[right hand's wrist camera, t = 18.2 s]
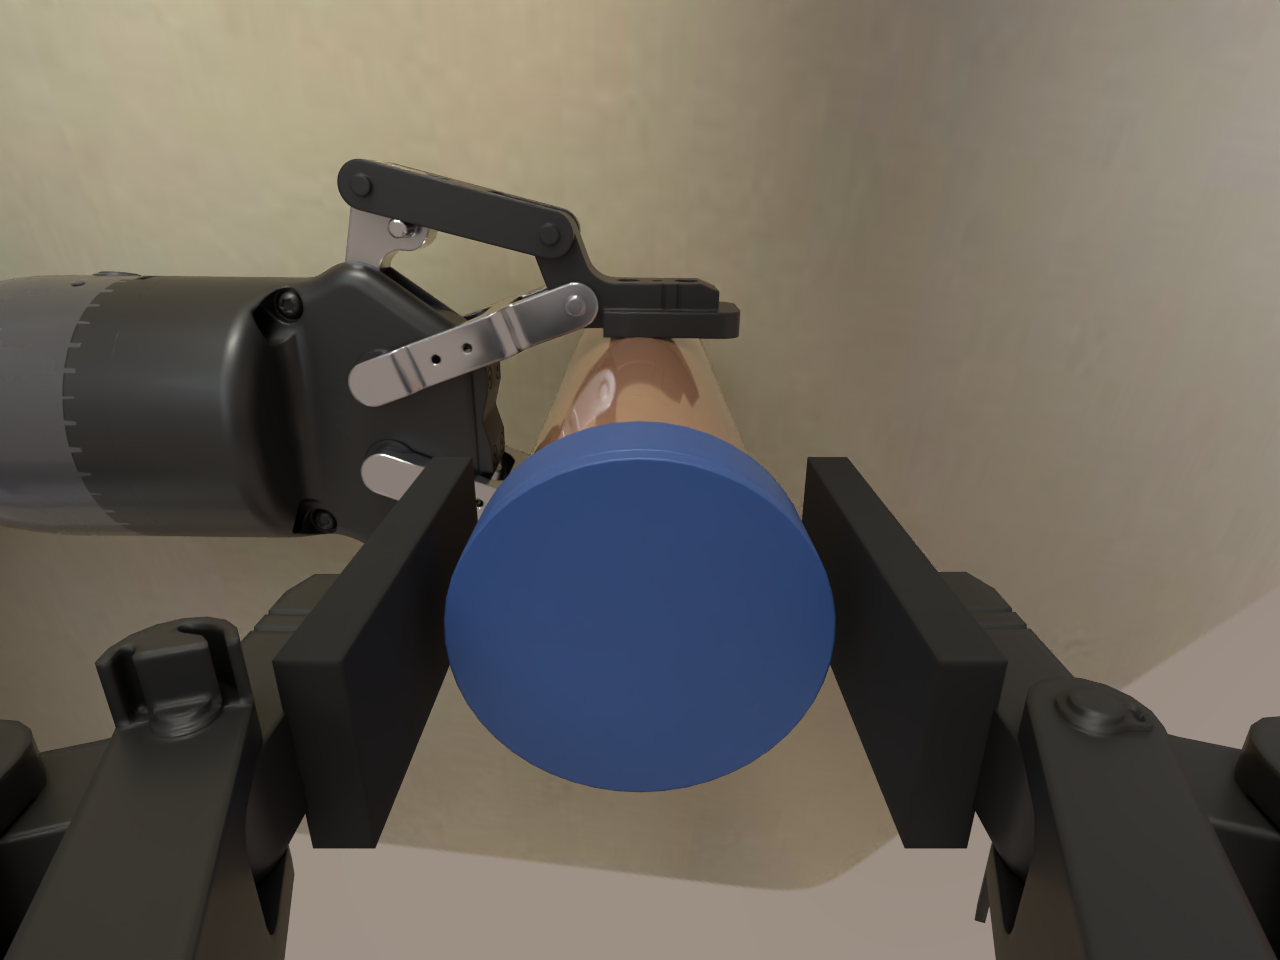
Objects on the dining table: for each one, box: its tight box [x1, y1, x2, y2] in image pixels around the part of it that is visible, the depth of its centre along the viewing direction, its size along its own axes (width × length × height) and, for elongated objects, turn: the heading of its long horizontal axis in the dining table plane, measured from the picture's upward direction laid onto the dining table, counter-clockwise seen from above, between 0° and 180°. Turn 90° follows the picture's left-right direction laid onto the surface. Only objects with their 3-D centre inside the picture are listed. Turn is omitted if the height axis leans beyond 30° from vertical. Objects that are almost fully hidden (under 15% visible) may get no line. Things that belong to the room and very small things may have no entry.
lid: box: [444, 421, 836, 792], centre depth 11 cm, size 6×6×2 cm
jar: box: [532, 328, 748, 455], centre depth 19 cm, size 5×5×17 cm
